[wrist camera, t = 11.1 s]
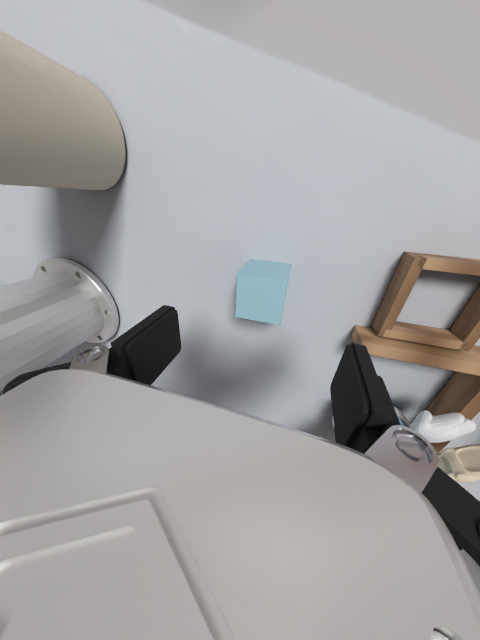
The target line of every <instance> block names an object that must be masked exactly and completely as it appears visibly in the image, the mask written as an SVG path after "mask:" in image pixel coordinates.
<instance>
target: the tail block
mask: <svg viewBox="0 0 480 640" xmlns="http://www.w3.org/2000/svg"><path fill="white" fill-rule="evenodd" d="M290 267H291V264H287V263H278V262H270V261H262V260H253V259H250V260H249V261H248V262H247V263H246V265H245V266H244V267H243V268H242V269H241V270H240V271H239V272H238V273H237V291H236V312H235V317H238V318H243V319H249V320H255V321H260V322H266V323H272V324H277V325H280V323H281V318H282V312H283V307H284V301H285V295H286V290H287V284H288V279H289V273H290Z"/></svg>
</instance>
